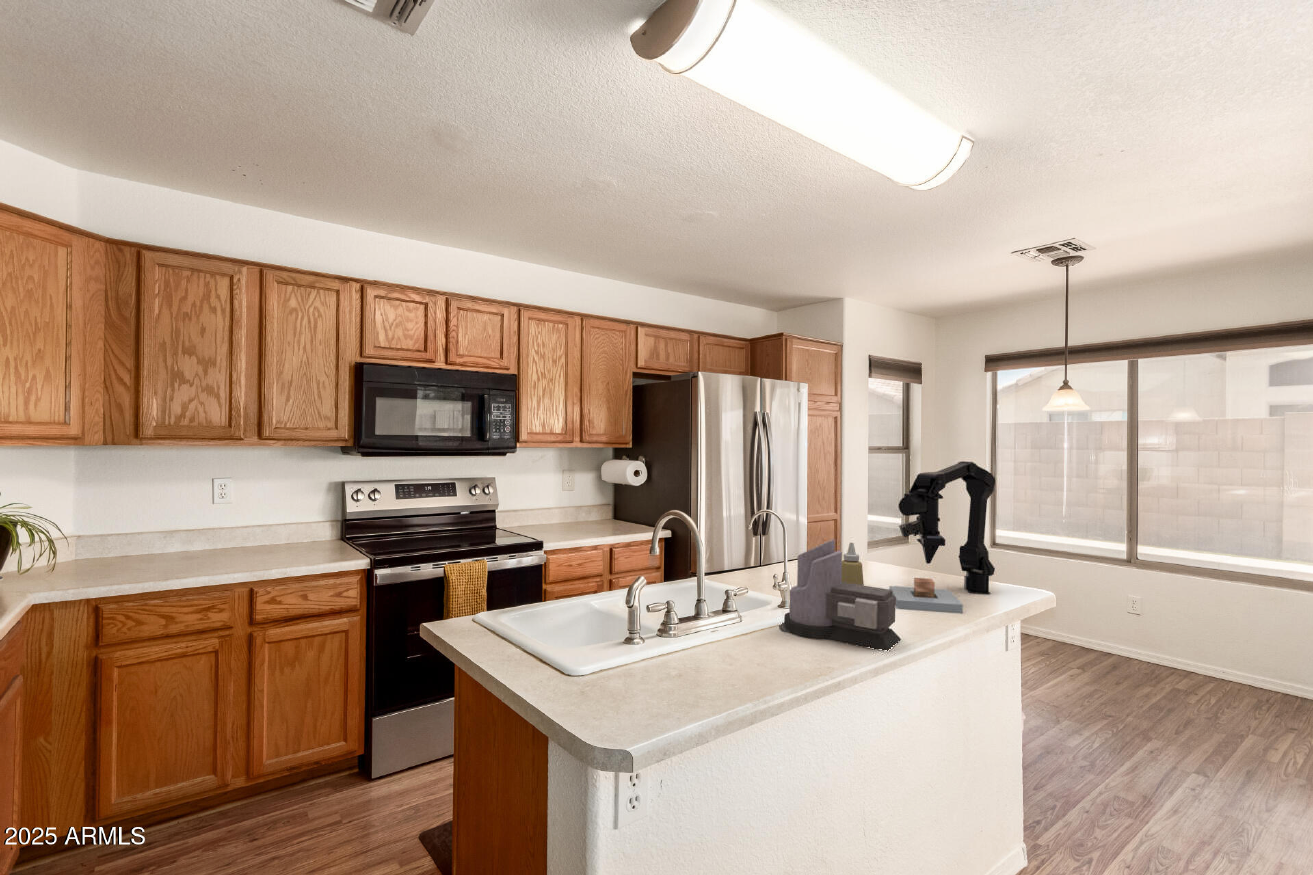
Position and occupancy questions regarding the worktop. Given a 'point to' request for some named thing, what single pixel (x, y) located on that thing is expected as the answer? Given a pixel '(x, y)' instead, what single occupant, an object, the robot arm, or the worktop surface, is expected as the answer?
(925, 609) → the socket board
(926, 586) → the brown block
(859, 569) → the squeeze bottle
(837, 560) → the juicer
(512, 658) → the worktop surface
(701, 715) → the worktop surface
